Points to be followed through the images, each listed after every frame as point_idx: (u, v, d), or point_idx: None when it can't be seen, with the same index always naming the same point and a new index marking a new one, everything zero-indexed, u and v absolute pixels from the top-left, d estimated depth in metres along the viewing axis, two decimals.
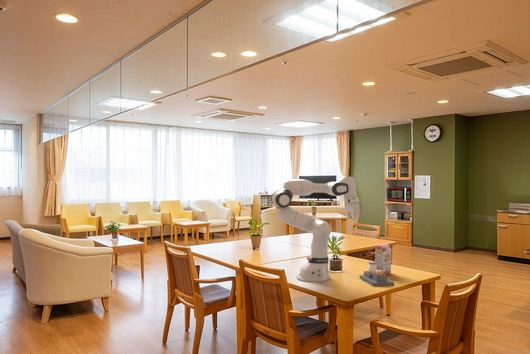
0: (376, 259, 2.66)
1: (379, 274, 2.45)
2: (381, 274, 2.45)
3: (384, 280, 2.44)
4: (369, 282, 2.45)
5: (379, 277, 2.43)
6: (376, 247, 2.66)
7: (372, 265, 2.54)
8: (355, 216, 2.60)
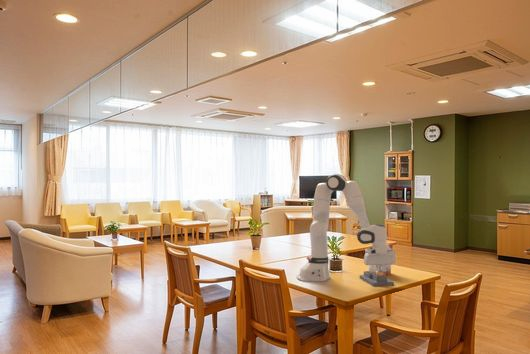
0: None
1: (379, 275, 2.45)
2: (381, 275, 2.45)
3: (384, 280, 2.44)
4: (369, 282, 2.45)
5: (379, 277, 2.43)
6: None
7: (372, 265, 2.54)
8: (376, 267, 2.46)
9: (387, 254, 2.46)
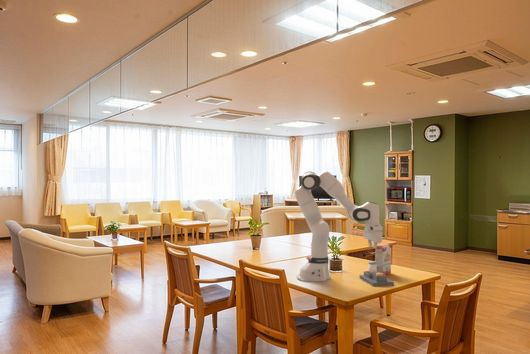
0: (376, 259, 2.66)
1: None
2: None
3: (384, 280, 2.44)
4: (369, 282, 2.45)
5: (379, 277, 2.43)
6: None
7: (372, 265, 2.54)
8: (375, 244, 2.52)
9: None
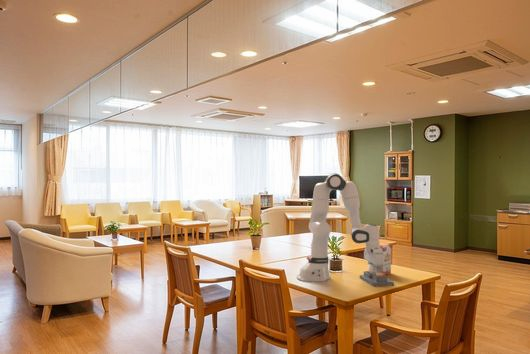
0: None
1: None
2: None
3: (384, 280, 2.44)
4: (369, 282, 2.45)
5: (379, 277, 2.43)
6: None
7: (372, 265, 2.54)
8: (375, 266, 2.52)
9: None
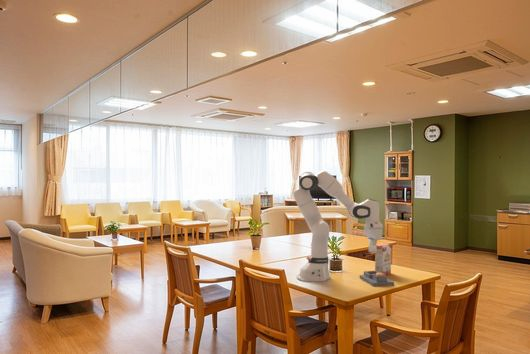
0: (376, 259, 2.66)
1: None
2: None
3: (384, 280, 2.44)
4: (369, 282, 2.45)
5: (379, 277, 2.43)
6: (376, 247, 2.66)
7: (372, 240, 2.54)
8: (375, 241, 2.52)
9: None
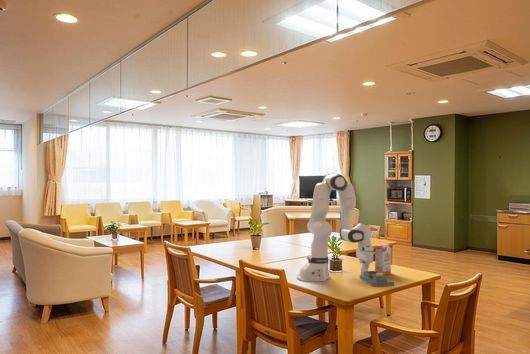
0: (376, 259, 2.66)
1: None
2: None
3: (384, 280, 2.44)
4: (369, 282, 2.45)
5: (379, 277, 2.43)
6: (376, 247, 2.66)
7: (364, 264, 2.67)
8: (367, 264, 2.64)
9: None
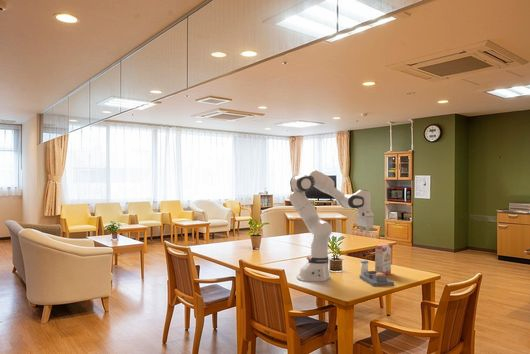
0: (376, 259, 2.66)
1: None
2: None
3: (384, 280, 2.44)
4: (369, 282, 2.45)
5: (379, 277, 2.43)
6: (376, 247, 2.66)
7: (364, 264, 2.67)
8: (368, 230, 2.64)
9: None
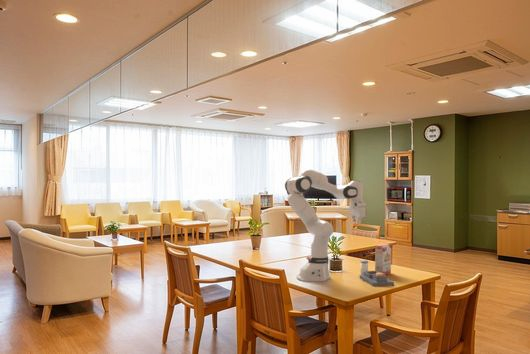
0: (376, 259, 2.66)
1: None
2: None
3: (384, 280, 2.44)
4: (369, 282, 2.45)
5: (379, 277, 2.43)
6: (376, 247, 2.66)
7: (364, 264, 2.67)
8: (360, 219, 2.71)
9: None
